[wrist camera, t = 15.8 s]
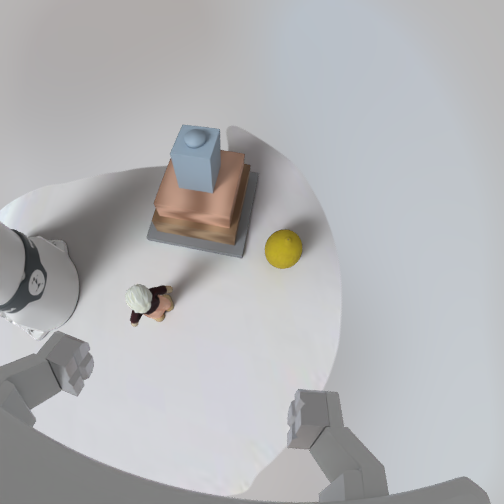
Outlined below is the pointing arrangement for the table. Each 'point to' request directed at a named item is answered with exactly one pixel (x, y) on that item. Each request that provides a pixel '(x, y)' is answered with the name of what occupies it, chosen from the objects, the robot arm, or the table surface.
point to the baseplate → (210, 245)
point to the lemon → (283, 249)
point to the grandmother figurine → (148, 302)
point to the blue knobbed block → (197, 158)
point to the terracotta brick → (204, 203)
